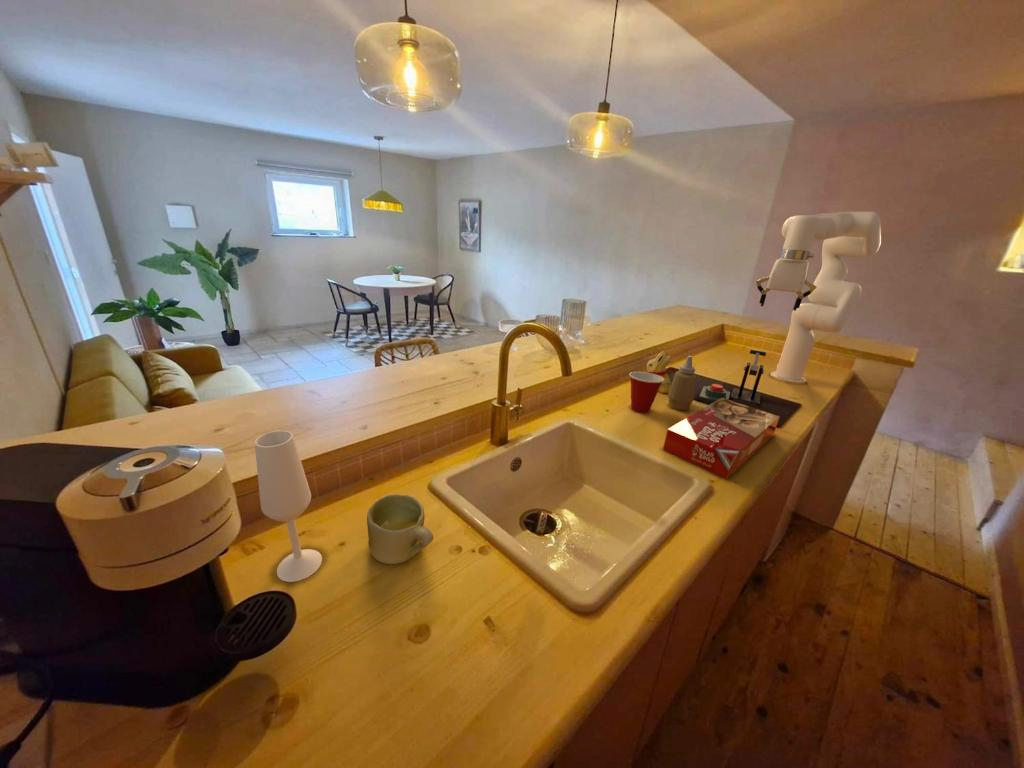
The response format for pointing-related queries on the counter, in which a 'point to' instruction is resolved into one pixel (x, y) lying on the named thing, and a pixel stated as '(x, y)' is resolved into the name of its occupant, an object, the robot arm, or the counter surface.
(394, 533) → the mug
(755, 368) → the lever
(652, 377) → the plastic cup
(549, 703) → the counter surface
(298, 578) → the champagne flute
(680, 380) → the squeeze bottle
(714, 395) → the button housing
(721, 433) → the food box
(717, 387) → the button
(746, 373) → the bracket
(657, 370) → the chocolate bunny
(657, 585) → the counter surface
